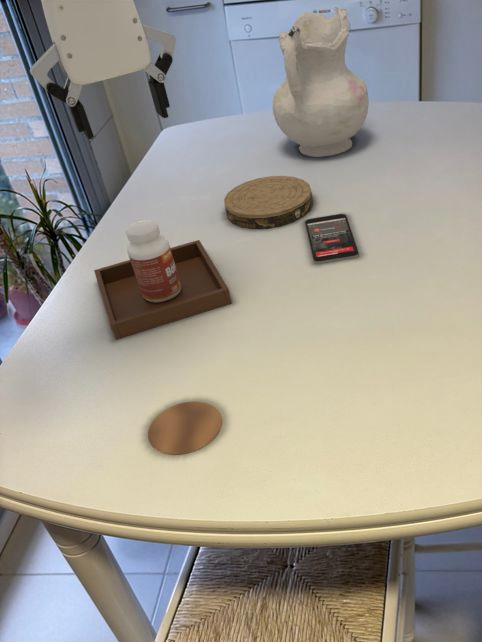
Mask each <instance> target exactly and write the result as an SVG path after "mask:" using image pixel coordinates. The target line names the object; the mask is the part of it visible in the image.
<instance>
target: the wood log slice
mask: <svg viewBox="0 0 482 642" xmlns="http://www.w3.org/2000/svg"><path fill="white" fill-rule="evenodd" d="M312 192H313V191H312V188H311V184H310V183H308V182H307V181H306V180H305V179H302V178H299V177H295V176H290V175H270V176H269V175H268V176H263V177H257V178H254V179H250V180H247V181H245V182H243V183H241V184H238V185H237V186H234V187H233V188H232V189H231V190H229V191H228V192H227V194H226V195H225V196H224V198H223V202H224V208H225V213H226V218H227V220H228V221H229V222H230V223H231V225H235V227H236V226H237V227H239V228H241V229H248V230H270V229H276V228H281V227H284V226H288V225H290V224H293V223H296V222H297V221H299V220H301V219H303V218H305V216H306V215H308V214H309V213H310V212H311V211H312V208H313V205H314V201H313V193H312Z"/></svg>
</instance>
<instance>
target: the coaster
mask: <svg viewBox="0 0 482 642" xmlns="http://www.w3.org/2000/svg"><path fill="white" fill-rule="evenodd" d="M222 427H223V418H222V414H221V412H220V411H219V410H218V409H217V408H216V407H215V406H213V405H212V404H210V403H208V402H203V401H184V402H181V403H180V402H179V403H178V404H174V405H172V406H169V407H168V408H166V409H164V410H162V411H161V412H159V413H158V415H156V416H155V418H154V419H153V420H152V421H151V423H150V425H149V427H148V431H147V439H148V441H149V444H150V445H151V447H152V448H153V449H154V450H156V451H157V452H159V453H161V454H165V455H169V456H180V455H181V456H182V455H188V454H191V453H194V452H197V451H200V450H201V449H203V448H205V447H206V446H208V445H209V444H211V443H212V442H213V441H214V440H215V439H216V438H217V437H218V435H219V434H220V432H221V430H222Z"/></svg>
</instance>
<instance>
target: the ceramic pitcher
mask: <svg viewBox="0 0 482 642" xmlns="http://www.w3.org/2000/svg"><path fill="white" fill-rule="evenodd" d="M346 9H347V8H344V7H343V8H341V7H337V6H335V7H334V10H335V13H334V15H332V17H330V18H329V17H328V16H326V15H324V14H322V13H320V12H317V13H315V12H312V11H306V12H304V13H301V15H300V16H297V18H296V19H295V21H294V23H293V25H292V27H291V29H289V30H288V31H287V32H285V31H280V32H279V35H278V43H279V48H280V50H281V53H282V55H283V63H284V71H285V78H284V80H283V81H282V82H281V84H280V85H279V87H278V88H277V90H276V91H275V93H274V95H273V99H272V101H271V102H272V113H273V117H274V120H275V122H276V125H277V127H278V128H279V129H280V131H281V132H282V133H283V134H284V135H285V136H286V137H287V138H288V139H289V140H290V141H292V142H293V143H295V144H297V145H299V147H298V150H299V151H300V153H301V154H303V155H305V156H307V157H314V158H319V157H321V158H322V157H330V156H336V155H339V154H341V153H344V152H346V151H348V150H350V149H351V148H352V147H353V141H352V140H351V138H352V137H354V136H355V135H357V133H358V132H359V131H360V130H361V128H362V127H363V125H364V123H365V121H366V119H367V116H368V113H369V105H370V103H369V102H370V101H369V91H368V87H367V84H366V83H365V81H364V80H363V79H362V78H361V77H359V76H358V75H357V74H355V73H353V72H352V70H350V69H349V68H348V66H347V64H346V48H347V43H348V40H349V36H350V32H349V25H350V24H349V18H348V15H349V14H348V13H347V10H346Z"/></svg>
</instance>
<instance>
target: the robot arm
mask: <svg viewBox="0 0 482 642" xmlns="http://www.w3.org/2000/svg"><path fill="white" fill-rule="evenodd" d="M40 2H41V6H42V10H43V14H44V18H45V21H46V25H47V28H48V32H49V36H50V38H51V42H52V45H50V47H49V48H48V49H47V50H46V51H45V52H44V53H43V54H42V55H41V56H40V57H39V58H38V59H37V61H35V62H34V64H32V66H31V67H30V69H29V73H30V75H31V76H32V77H33V79H34V80H36V81H37V82H38V83H39V85H40V86H42V88H43V89H44V90H46V92H48V94H49V95H51V96H52V97H54V98H56V99H57V100H59V101H61V102H63V103H64V104H66V105H68V108H69V111H70V113H71V116H72V119H73V122H74V125H75V127H76V130H77V132H78V133H82V132H83V134H84V135H85V137H86V138H87V139H88V140H93V138H95V136H94V133H93V130H92V126H91V124H90V121H89V118H88V115H87V113H86V109H85V107H84V105H83V103H82V102H81V100H79V97H80V94H81V92H82V89H83V86H84V85H89V84H93V83H94V84H95V83H98V82H101V81H106V80H109V79H114V78H116V77H121V76H125V75H127V74H132V73H135V72H138V71H141V70H143V71H144V72H145V73H147V74H148V75H149V79H148V81H147V82H148V83H147V84H148V86H149V90H150V94H151V97H152V102H153V105H154V107H155V108H154V109H155V111H156V113H157V114H158V115H159V116H160V117H161V118H163V119H167V118H169V114H168V109H169V108H170V107H171V105H170V100H169V98H168V93H167V89H166V85H165V81H166V80H167V79H166V78H167V77H166V76H167V74H168V72H169V71H170V68H171V67H172V65H173V61H174V60H173V55H174V52H175V46H176V41H177V40H176V36H175V35H174V34H172V33H170V32H167V31H164V30H161V29H158V28H155V27H152V26H148V25H146V24H142V21H141V19H140V16H139V13H138V10H137V7H136V5H135V2H134V0H40ZM147 39H148V40H150V41H154V42H157V43H159V44H160V53H159V55H158V57H157V59H156V61H155V63H152V62H151V59H152V58H151V56H152V55H151V51H150V46H149V43H148V40H147ZM57 63H58V64H59V66H60V68H61V70H62V72H63V75H64V76H66V77H67V78H66V80H65V84H64V87H63V86H62V85H60V84H57V83H55V81H53V80H52V79H51V78H50V77H49V76H48V75H49V72H50V70H51V69H52V68H54V66H55V65H56V64H57Z"/></svg>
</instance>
